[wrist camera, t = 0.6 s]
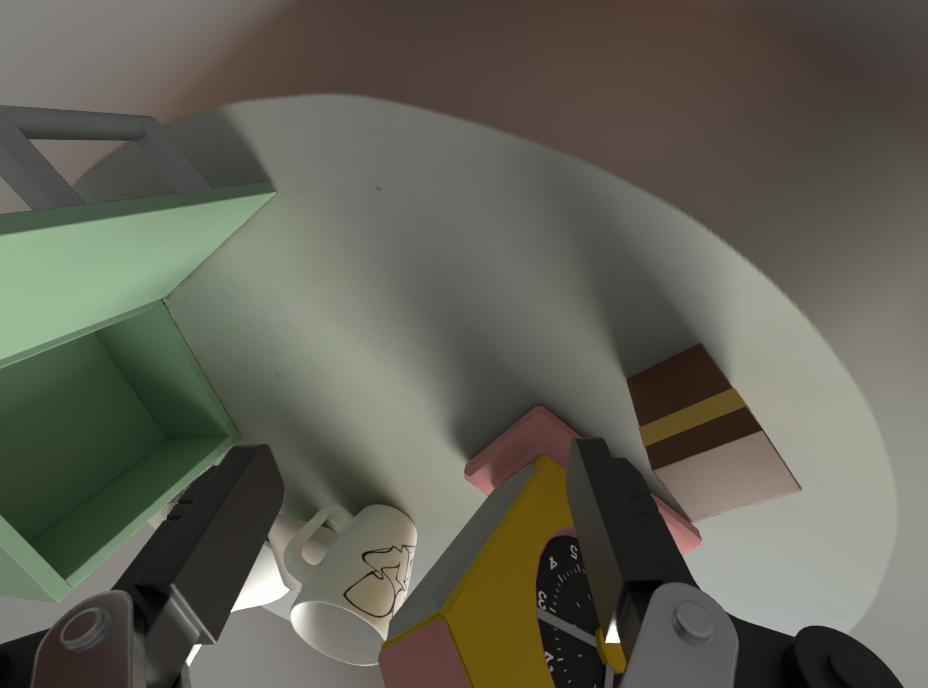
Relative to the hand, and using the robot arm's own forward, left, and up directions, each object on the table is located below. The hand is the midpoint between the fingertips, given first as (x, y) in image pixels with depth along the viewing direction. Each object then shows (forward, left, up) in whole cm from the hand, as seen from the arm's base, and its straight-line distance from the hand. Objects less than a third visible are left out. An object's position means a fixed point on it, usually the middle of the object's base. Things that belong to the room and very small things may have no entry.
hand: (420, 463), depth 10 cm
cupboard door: (+15, -17, -17) cm, 28 cm away
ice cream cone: (+32, +10, -17) cm, 38 cm away
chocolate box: (-5, +13, -17) cm, 22 cm away
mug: (+25, +12, -17) cm, 32 cm away
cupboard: (+31, -11, -17) cm, 37 cm away
